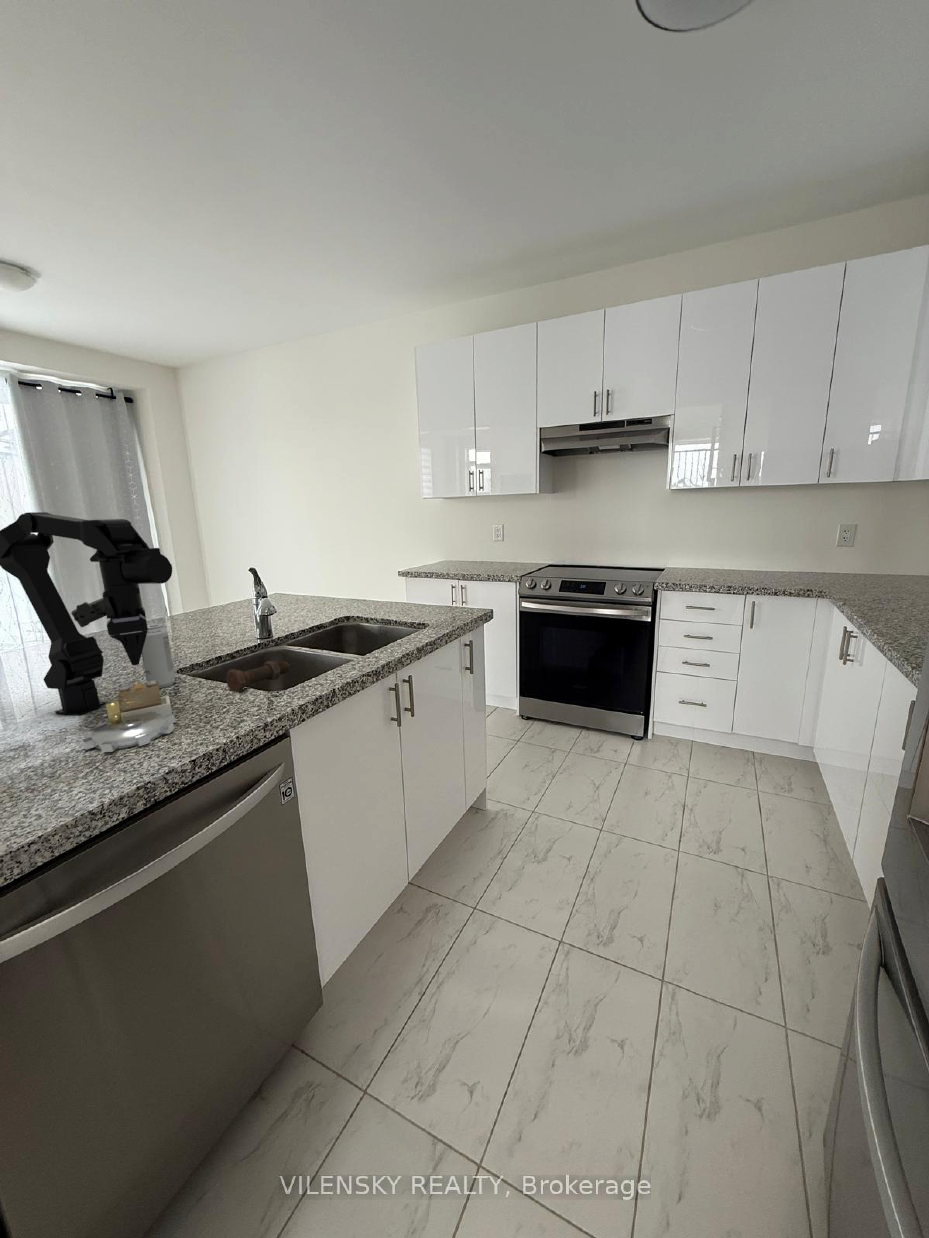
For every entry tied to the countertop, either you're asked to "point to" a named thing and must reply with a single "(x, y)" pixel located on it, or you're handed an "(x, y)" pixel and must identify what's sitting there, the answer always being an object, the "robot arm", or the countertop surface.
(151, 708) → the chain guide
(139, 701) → the link
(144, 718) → the sprocket
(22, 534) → the robot arm
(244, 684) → the bolt
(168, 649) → the energy drink can
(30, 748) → the countertop surface
